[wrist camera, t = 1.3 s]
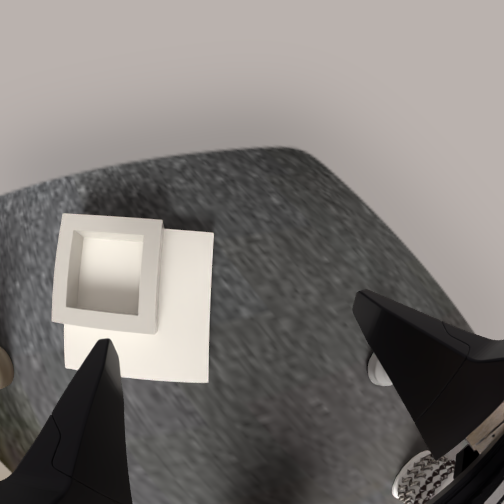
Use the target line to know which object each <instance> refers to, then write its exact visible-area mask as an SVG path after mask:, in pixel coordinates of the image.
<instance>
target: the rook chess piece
mask: <svg viewBox="0 0 504 504" xmlns="http://www.w3.org/2000/svg"><path fill="white" fill-rule="evenodd" d="M368 375H369V378H370V380H371V381H372V382H373V383H374V384H376V385H381V386H390V385H392V382H391V380H390V379H389V377H388V375H387V374H386V372H385V370H384V369H383V367H382V365H381V364H380V362H379V360H378V359H377V357H376V355H375V354H374V353H373V354H372V356H371V358H370V360H369V363H368Z"/></svg>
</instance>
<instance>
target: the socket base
mask: <svg viewBox="0 0 504 504" xmlns="http://www.w3.org/2000/svg"><path fill="white" fill-rule="evenodd" d="M213 240H214V233H210V232H198V231H186V230H173V229H164V225H163V220H157V219H144V218H130V217H115V216H99V215H82V214H64V213H63V216H62V221H61V227H60V233H59V240H58V247H57V254H56V262H55V272H54V284H53V299H52V322H57V323H63V324H64V351H65V368H69V369H74V370H78V369H79V368H80V366H81V365H82V363H83V362H84V360H85V359H86V357H87V356H88V354H89V353H90V351H91V350H92V348H93V347H94V345H95V344H96V342H97V341H98V340H99V339H105V338H109V339H111V341H112V343H113V345H114V347H115V349H116V352H117V354H118V357H119V363H120V373H121V377H127V378H136V379H146V380H158V381H173V382H195V383H208V364H209V324H210V297H211V275H212V256H213Z"/></svg>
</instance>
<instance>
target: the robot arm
mask: <svg viewBox="0 0 504 504" xmlns="http://www.w3.org/2000/svg"><path fill="white" fill-rule="evenodd" d="M353 313H354V316H355V318H356V320H357V322H358V324H359V326H360V328H361V330H362V332H363V334H364V336H365V338H366V340H367V342H368V344H369V346H370V347H371V349H372V351H373V352H374V354H375V355H376V357H377V359H378V360H379V362H380V364H381V365H382V367H383V369H384V370H385V372H386V374H387V375H388V377H389V379H390V380H391V382H392V384H393V385H394V387H395V389H396V391H397V392H398V394H399V396H400V397H401V399H402V401H403V403H404V404H405V406H406V408H407V410H408V412H409V413H410V415H411V417H412V419H413V420H414V422H415V424H416V426H417V428H418V430H419V432H420V433H421V435H422V437H423V439H424V441H425V443H426V445H427V447H428V448H429V450H430V452H431V454H432V456H433V458H434V459H435V461H437V460H438V459H440V458H441V457H442V456H444V455H445V454H446V453H448V452H449V451H450V450H452V449H453V448H454V447H455V446H457V445H458V444H459V443H460V442H461V441H463V440H464V439H465V440H466V442H467V443H468V444H467V445H466V446H465V447H464V448H463V449H462V450H461V451H460V452H459V453H457V454H456V462H455V469H454V475H453V479H454V480H453V481H452V482H451V483H450V484H449V485H447V486H446V487H445V488H444V489H443V490H441V491H440V492H439V493H438V494H437V495H435V496H434V497H433V498H432V499H430V500H429V501H428V502H426V503H425V504H501V503H502V502H503V501H504V340H491V339H488V338H485V337H482V336H479V335H476V334H473V333H471V332H468V331H465V330H462V329H460V328H457V327H455V326H452V325H450V324H447V323H445V322H443V321H442V322H441V321H440V320H438V319H436V318H434V317H431V316H429V315H427V314H424V313H422V312H420V311H417V310H415V309H413V308H410V307H408V306H406V305H403V304H401V303H398V302H396V301H394V300H391V299H389V298H387V297H384V296H382V295H380V294H377V293H375V292H373V291H370V290H368V289H365V290H361V291H358V292H357V294H356V297H355V301H354V304H353ZM0 504H132V497H131V490H130V483H129V475H128V466H127V455H126V442H125V425H124V399H123V391H122V383H121V373H120V363H119V357H118V354H117V352H116V349H115V347H114V345H113V343H112V341H111V339H109V338H105V339H99V340H98V341H97V342H96V344H95V345H94V347H93V348H92V350H91V351H90V353H89V354H88V356H87V357H86V359H85V360H84V362H83V363H82V365H81V366H80V368H79V369H78V371H77V372H76V374H75V376H74V377H73V379H72V380H71V382H70V383H69V385H68V387H67V388H66V390H65V392H64V393H63V395H62V396H61V398H60V400H59V401H58V403H57V405H56V406H55V408H54V410H53V412H52V415H50V417H49V418H48V420H47V422H46V424H45V425H44V427H43V429H42V430H41V432H40V434H39V435H38V437H37V438H36V440H35V441H34V443H33V444H32V446H31V447H30V449H29V450H28V452H27V453H26V454H25V456H24V457H23V459H22V460H21V462H20V463H19V465H18V466H17V468H16V469H15V471H14V472H13V473H12V474H11V475H10V476H9V477H7V478H6V479H4V480H2V481H0Z"/></svg>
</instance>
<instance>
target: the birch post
mask: <svg viewBox="0 0 504 504" xmlns="http://www.w3.org/2000/svg"><path fill="white" fill-rule="evenodd" d="M13 377H14V369H13V365H12V362H11V359H10V357H9V355H8V354H7V352H6V351H5V350H4V349H3V348H2V347H0V389H2V388H4V387H6V386H8V385H10V384H11V383H12V381H13Z"/></svg>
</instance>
